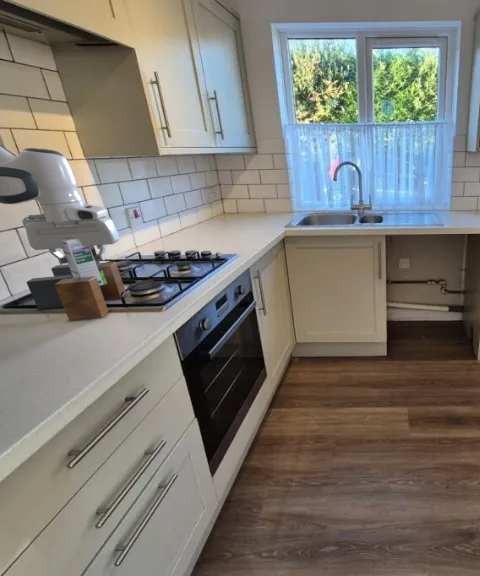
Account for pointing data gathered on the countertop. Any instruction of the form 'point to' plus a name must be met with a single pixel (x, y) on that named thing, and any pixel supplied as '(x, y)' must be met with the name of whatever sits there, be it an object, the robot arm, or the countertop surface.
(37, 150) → the robot arm
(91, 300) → the wooden blocks
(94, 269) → the syrup box
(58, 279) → the grey boxes
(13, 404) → the countertop surface
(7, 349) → the countertop surface
